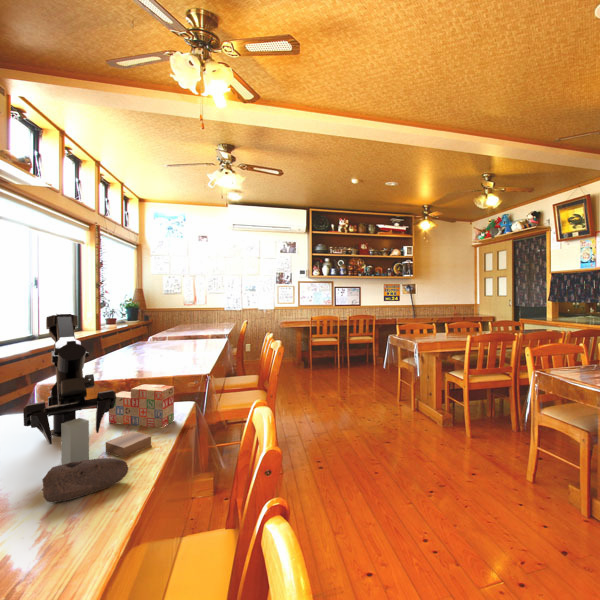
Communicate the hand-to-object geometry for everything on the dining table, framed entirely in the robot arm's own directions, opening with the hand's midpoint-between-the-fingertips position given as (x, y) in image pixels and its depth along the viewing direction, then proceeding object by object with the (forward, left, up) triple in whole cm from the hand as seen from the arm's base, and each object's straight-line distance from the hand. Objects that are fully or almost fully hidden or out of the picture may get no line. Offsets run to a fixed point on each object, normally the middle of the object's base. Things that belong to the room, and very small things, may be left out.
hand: (75, 437), depth 74 cm
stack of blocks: (-14, +28, -8) cm, 32 cm away
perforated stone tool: (+12, -3, -8) cm, 15 cm away
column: (0, 0, -8) cm, 8 cm away
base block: (+1, +13, -9) cm, 16 cm away
